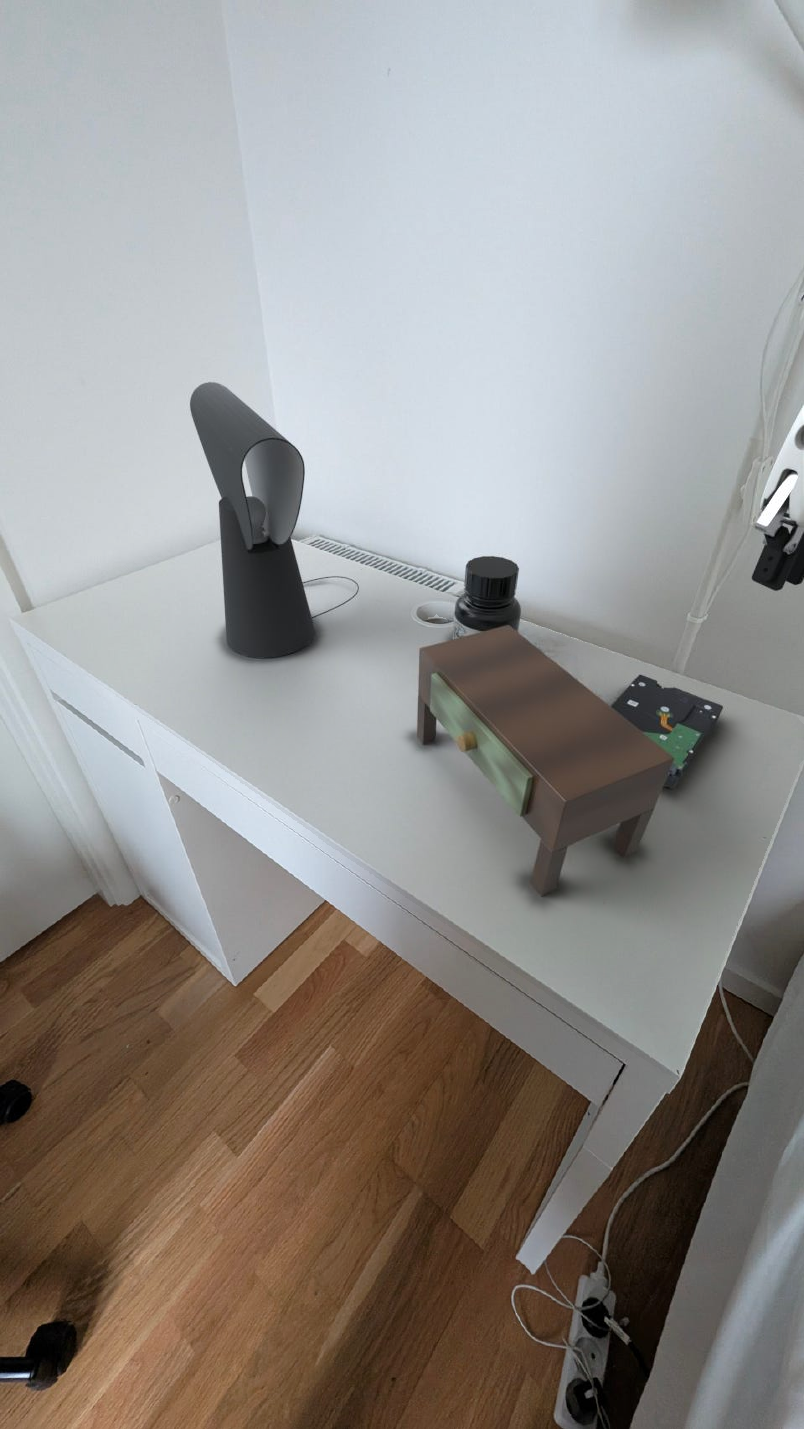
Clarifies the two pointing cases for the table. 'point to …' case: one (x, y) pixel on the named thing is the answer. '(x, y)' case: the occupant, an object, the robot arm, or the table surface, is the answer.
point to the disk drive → (669, 720)
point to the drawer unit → (541, 743)
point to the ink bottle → (487, 597)
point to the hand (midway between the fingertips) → (776, 581)
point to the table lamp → (255, 525)
